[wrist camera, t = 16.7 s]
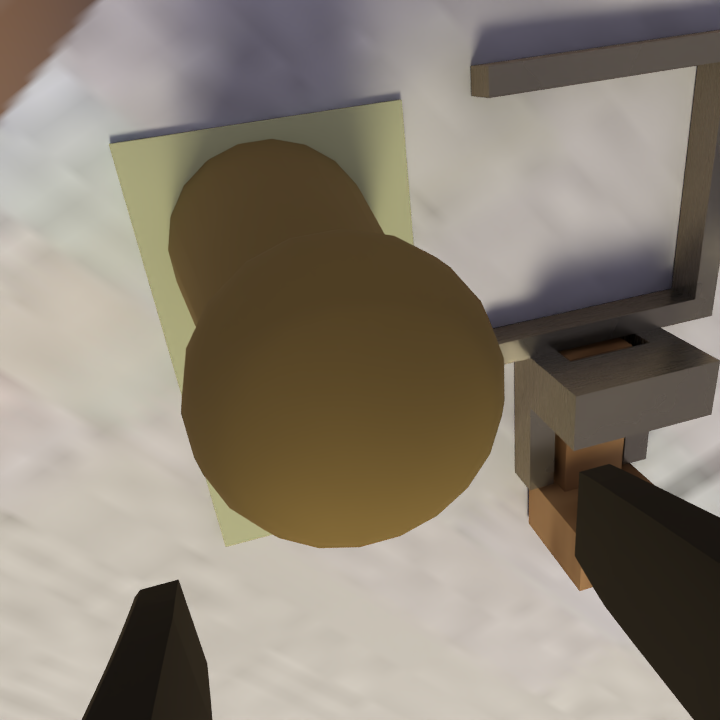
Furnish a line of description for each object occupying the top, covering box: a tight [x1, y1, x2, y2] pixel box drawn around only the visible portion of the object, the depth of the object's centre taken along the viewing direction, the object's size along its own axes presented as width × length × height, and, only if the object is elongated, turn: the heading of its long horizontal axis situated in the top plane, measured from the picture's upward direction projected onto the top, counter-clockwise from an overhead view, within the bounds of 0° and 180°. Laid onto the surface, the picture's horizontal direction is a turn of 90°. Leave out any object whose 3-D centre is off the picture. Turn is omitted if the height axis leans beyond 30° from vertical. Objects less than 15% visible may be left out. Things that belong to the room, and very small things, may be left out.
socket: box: [471, 30, 720, 490], centre depth 20 cm, size 8×15×4 cm, turn 7°
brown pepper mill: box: [168, 139, 504, 548], centre depth 13 cm, size 6×6×11 cm
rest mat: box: [109, 100, 413, 547], centre depth 20 cm, size 8×14×1 cm, turn 7°
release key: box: [529, 337, 654, 591], centre depth 23 cm, size 4×8×4 cm, turn 7°
